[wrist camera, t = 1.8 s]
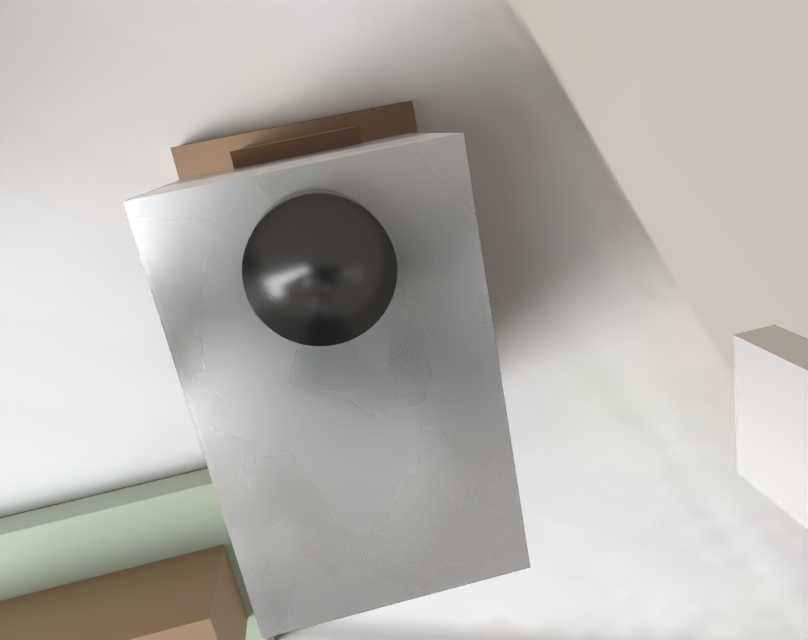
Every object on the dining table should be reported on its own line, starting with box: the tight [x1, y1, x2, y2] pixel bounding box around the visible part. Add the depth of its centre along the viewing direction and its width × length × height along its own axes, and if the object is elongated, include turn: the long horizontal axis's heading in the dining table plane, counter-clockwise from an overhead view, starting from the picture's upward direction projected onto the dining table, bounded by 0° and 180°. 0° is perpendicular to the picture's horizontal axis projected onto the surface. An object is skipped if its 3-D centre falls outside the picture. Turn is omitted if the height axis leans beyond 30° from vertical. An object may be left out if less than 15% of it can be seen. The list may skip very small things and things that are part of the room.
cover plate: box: [123, 133, 530, 639], centre depth 16 cm, size 11×7×5 cm, turn 11°
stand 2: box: [171, 101, 417, 180], centre depth 24 cm, size 13×9×6 cm
